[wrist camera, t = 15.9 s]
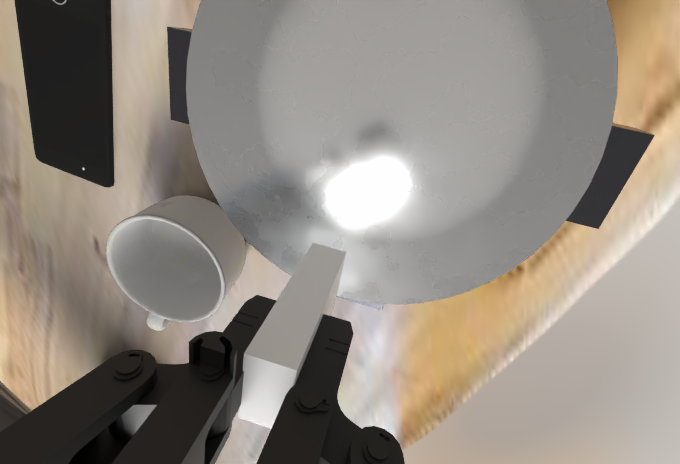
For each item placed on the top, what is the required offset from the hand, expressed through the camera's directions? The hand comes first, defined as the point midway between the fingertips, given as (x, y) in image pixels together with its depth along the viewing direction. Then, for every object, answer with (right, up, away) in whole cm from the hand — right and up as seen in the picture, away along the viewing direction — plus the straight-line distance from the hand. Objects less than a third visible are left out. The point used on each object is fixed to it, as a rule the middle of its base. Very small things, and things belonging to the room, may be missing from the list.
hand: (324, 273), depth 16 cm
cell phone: (-24, +16, +19) cm, 35 cm away
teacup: (-13, +1, +23) cm, 27 cm away
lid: (+3, +8, +2) cm, 9 cm away
